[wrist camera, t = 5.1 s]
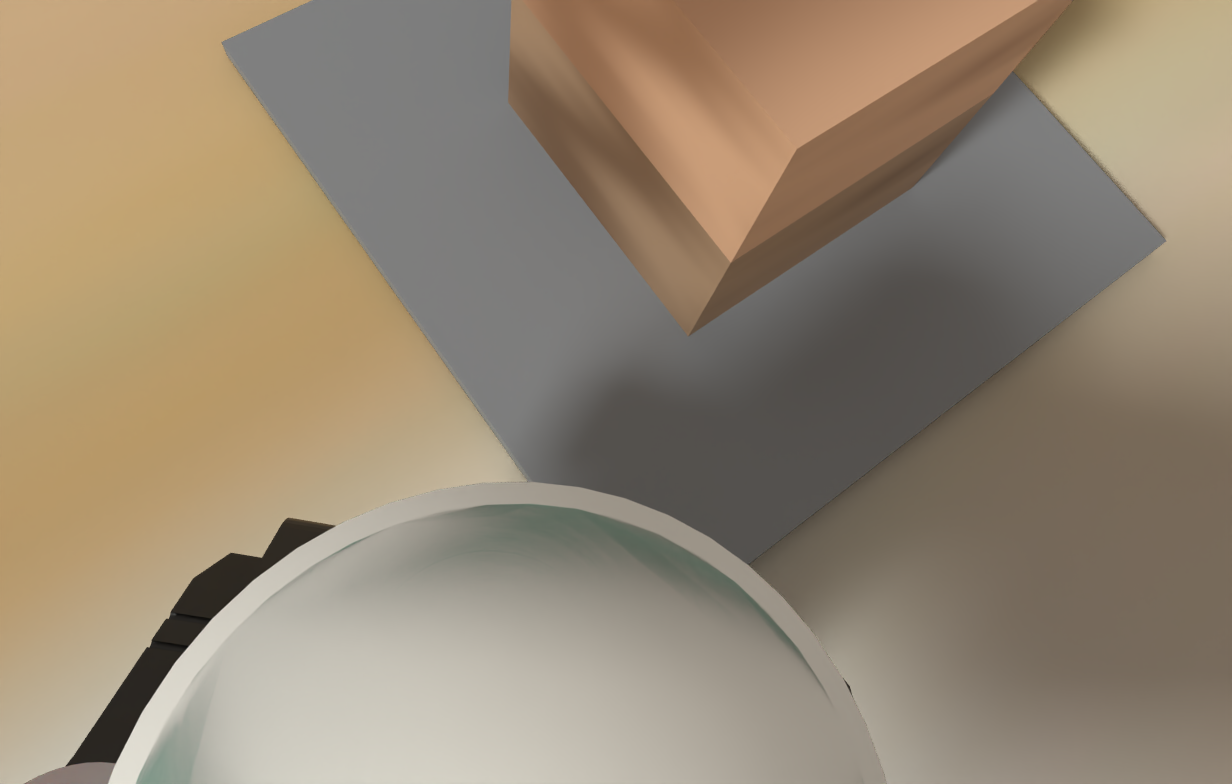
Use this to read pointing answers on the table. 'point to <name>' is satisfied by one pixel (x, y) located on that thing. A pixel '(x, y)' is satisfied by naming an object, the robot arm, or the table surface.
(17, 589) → the table surface
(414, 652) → the sage canister
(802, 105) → the cherry block
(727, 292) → the walnut block
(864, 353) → the slate mat
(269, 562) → the robot arm
